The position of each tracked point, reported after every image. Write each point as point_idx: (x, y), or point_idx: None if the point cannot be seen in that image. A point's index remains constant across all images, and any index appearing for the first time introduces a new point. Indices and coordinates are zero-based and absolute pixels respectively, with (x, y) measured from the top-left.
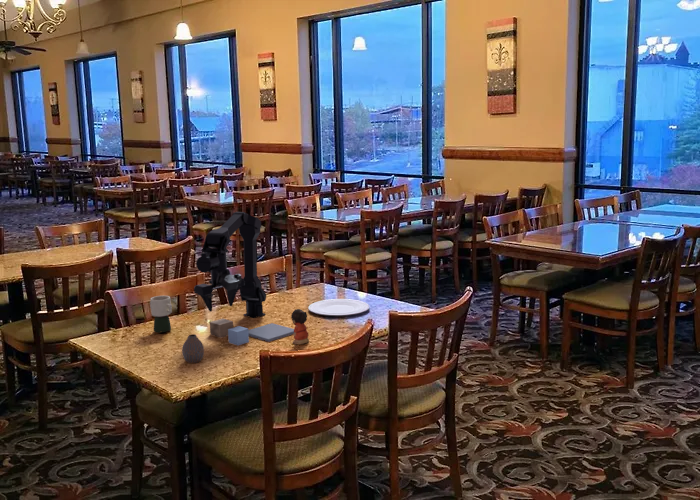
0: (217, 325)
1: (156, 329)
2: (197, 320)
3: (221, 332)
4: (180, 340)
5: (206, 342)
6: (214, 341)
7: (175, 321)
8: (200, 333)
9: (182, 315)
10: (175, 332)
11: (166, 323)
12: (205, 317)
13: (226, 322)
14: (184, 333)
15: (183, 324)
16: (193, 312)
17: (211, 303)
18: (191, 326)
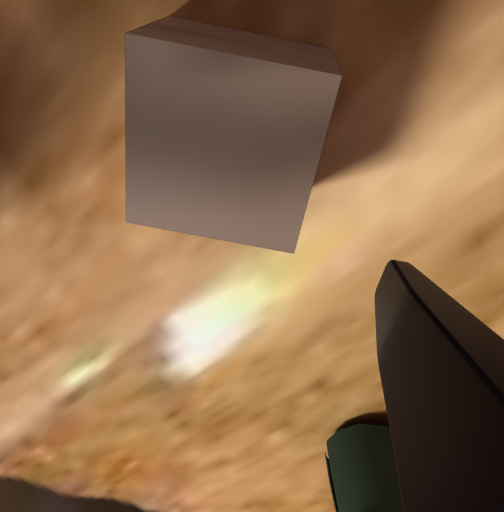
0: (327, 121)
1: None
2: (118, 418)
3: (318, 53)
4: (499, 286)
5: (500, 73)
6: (448, 21)
7: (200, 475)
8: (301, 272)
9: (115, 493)
10: (353, 393)
11: (395, 474)
12: (54, 415)
13: (214, 75)
14: (348, 349)
15: (214, 432)
16: (50, 483)
17: (472, 350)
18: (216, 388)
